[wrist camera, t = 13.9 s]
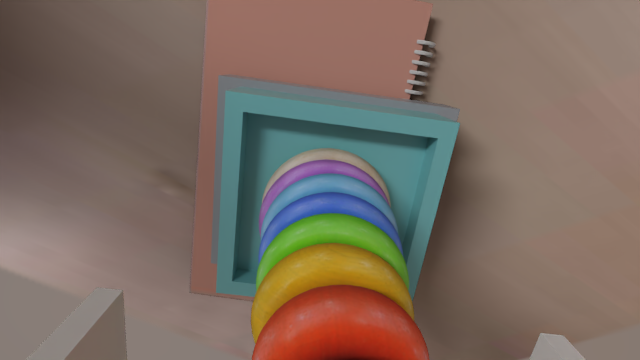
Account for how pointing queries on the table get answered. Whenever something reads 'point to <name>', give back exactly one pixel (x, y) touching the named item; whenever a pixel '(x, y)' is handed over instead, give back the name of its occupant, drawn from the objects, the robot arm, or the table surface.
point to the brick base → (313, 133)
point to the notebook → (299, 71)
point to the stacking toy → (331, 266)
